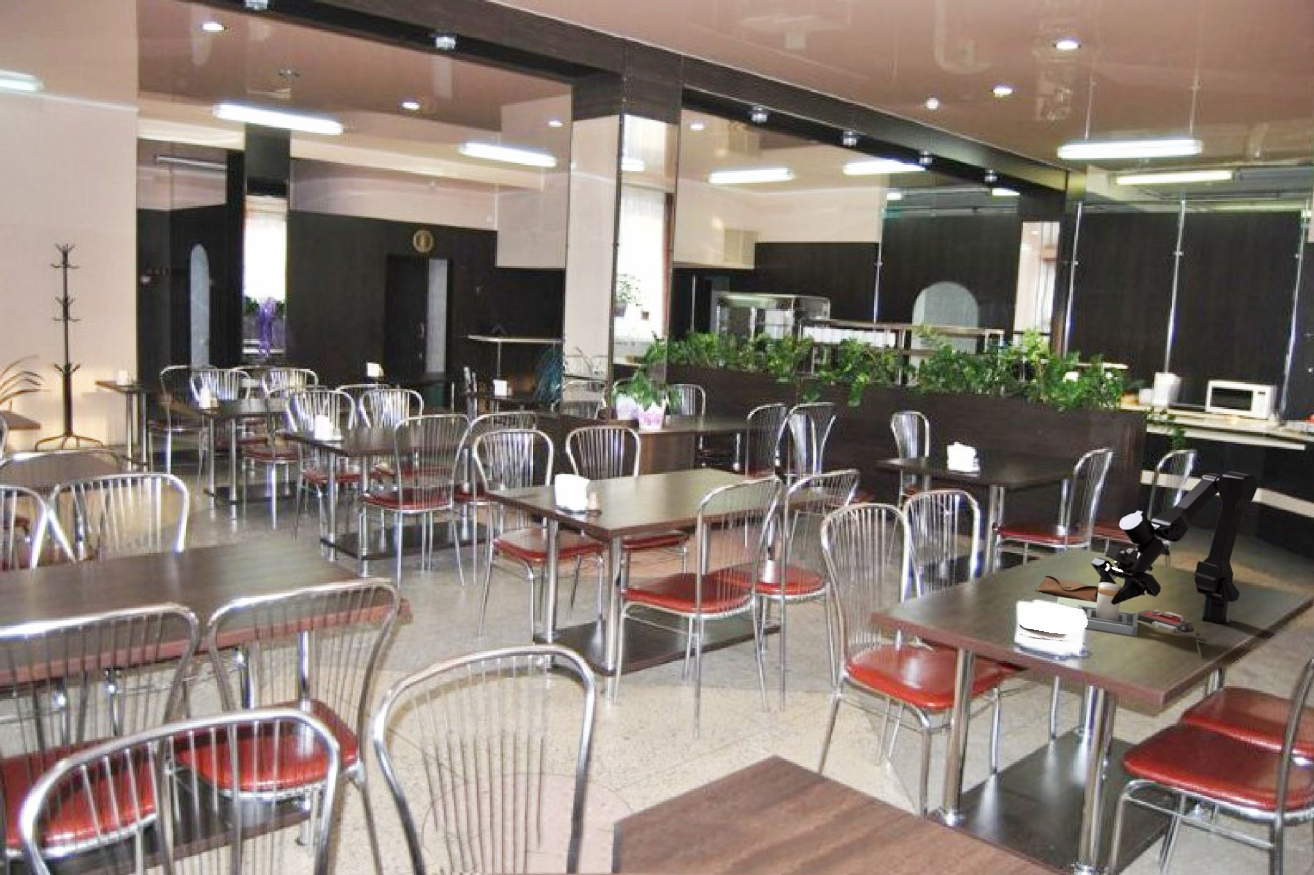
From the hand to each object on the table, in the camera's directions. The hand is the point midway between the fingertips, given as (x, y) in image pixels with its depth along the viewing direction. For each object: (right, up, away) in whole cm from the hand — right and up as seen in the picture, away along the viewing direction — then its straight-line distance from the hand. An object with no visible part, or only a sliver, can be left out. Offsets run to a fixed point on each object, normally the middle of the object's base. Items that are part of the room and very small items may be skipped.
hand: (1104, 600), depth 253 cm
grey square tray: (+1, -7, +1) cm, 7 cm away
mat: (+1, -5, +18) cm, 19 cm away
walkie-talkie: (+18, -8, +1) cm, 20 cm away
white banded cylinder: (+1, -6, +1) cm, 6 cm away
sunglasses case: (+4, -4, +31) cm, 31 cm away
